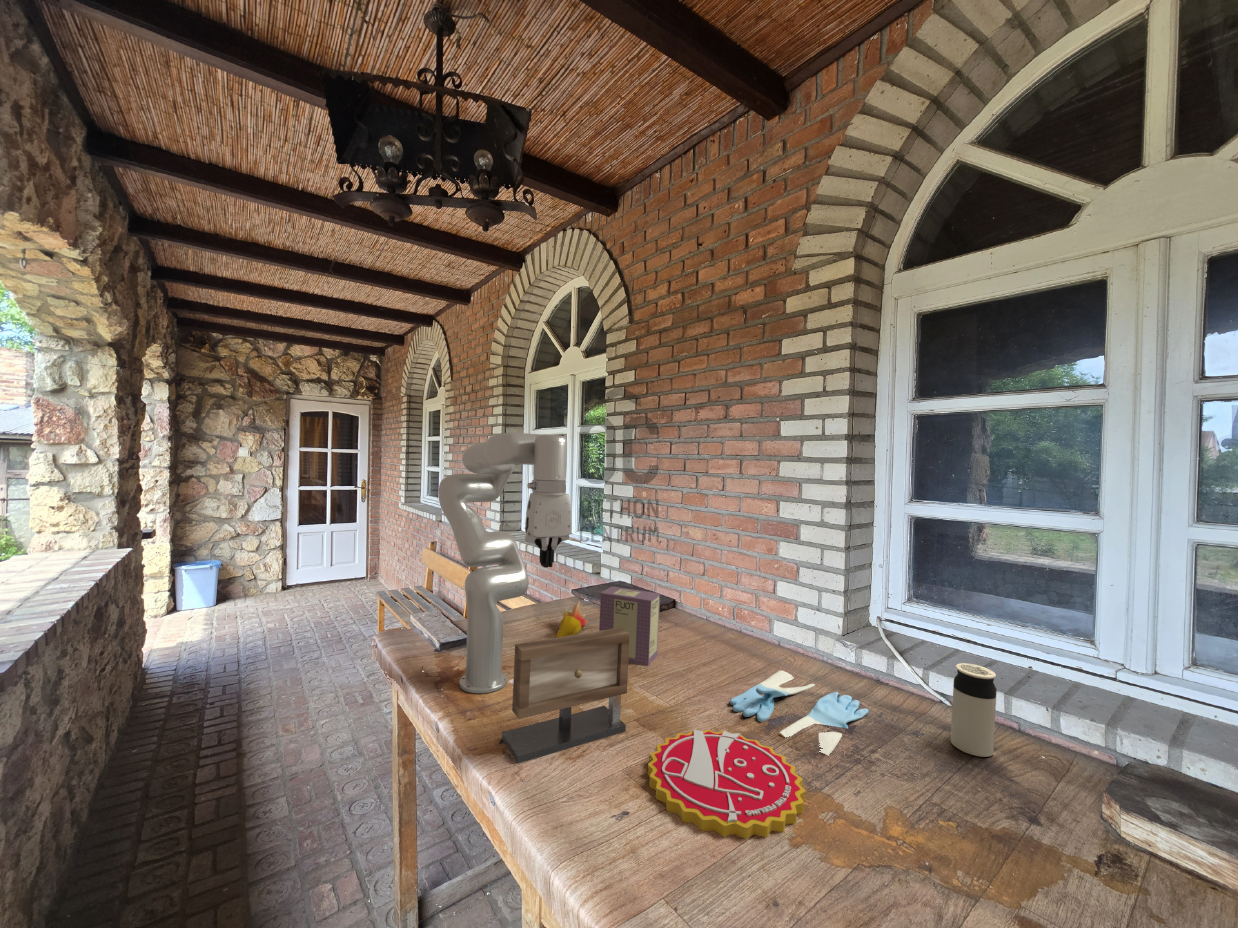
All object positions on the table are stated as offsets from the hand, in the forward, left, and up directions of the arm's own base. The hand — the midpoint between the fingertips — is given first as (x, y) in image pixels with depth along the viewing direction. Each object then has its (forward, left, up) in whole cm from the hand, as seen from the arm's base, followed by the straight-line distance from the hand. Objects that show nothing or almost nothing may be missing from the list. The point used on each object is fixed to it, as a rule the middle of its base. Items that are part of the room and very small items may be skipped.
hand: (546, 566), depth 117 cm
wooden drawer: (+10, +3, -28) cm, 30 cm away
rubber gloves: (+23, +62, -38) cm, 76 cm away
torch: (-48, +30, -37) cm, 68 cm away
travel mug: (+54, +83, -37) cm, 106 cm away
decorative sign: (+36, +24, -38) cm, 57 cm away
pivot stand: (+7, +3, -37) cm, 38 cm away
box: (-25, +40, -37) cm, 60 cm away
